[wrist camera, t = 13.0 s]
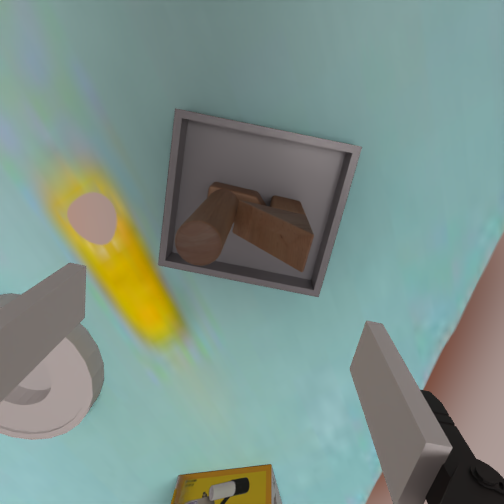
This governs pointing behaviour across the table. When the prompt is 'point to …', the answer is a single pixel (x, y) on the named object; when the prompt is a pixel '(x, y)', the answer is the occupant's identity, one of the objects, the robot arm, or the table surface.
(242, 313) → the table surface
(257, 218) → the brown round-handled part
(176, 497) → the packaging box
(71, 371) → the ashtray
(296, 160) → the tray
